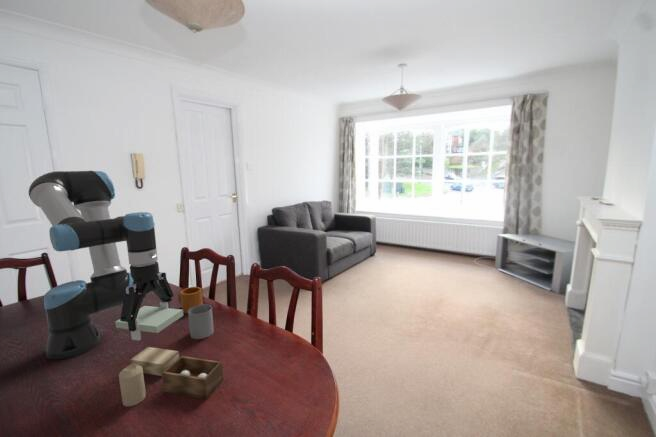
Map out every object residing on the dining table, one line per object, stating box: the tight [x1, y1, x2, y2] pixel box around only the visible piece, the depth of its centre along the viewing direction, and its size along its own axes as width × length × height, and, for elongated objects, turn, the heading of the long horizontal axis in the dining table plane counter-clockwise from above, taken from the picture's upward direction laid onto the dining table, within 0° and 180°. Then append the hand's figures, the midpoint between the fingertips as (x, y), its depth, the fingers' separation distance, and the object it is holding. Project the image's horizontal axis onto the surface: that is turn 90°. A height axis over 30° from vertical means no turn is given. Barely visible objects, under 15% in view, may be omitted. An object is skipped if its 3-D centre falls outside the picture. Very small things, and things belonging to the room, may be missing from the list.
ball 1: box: [180, 370, 191, 376], centre depth 89 cm, size 3×3×3 cm
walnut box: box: [161, 355, 224, 400], centre depth 89 cm, size 14×8×6 cm, turn 77°
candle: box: [118, 363, 147, 408], centre depth 83 cm, size 6×6×10 cm
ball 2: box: [198, 373, 207, 378], centre depth 88 cm, size 3×3×3 cm
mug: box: [177, 286, 204, 314], centre depth 139 cm, size 9×12×9 cm
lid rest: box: [130, 346, 180, 377], centre depth 98 cm, size 12×7×4 cm, turn 77°
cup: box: [187, 304, 214, 340], centre depth 117 cm, size 8×8×10 cm
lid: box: [115, 305, 184, 334], centre depth 95 cm, size 15×11×2 cm
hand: (152, 329), depth 96 cm, fingers closed on lid, 11 cm apart
